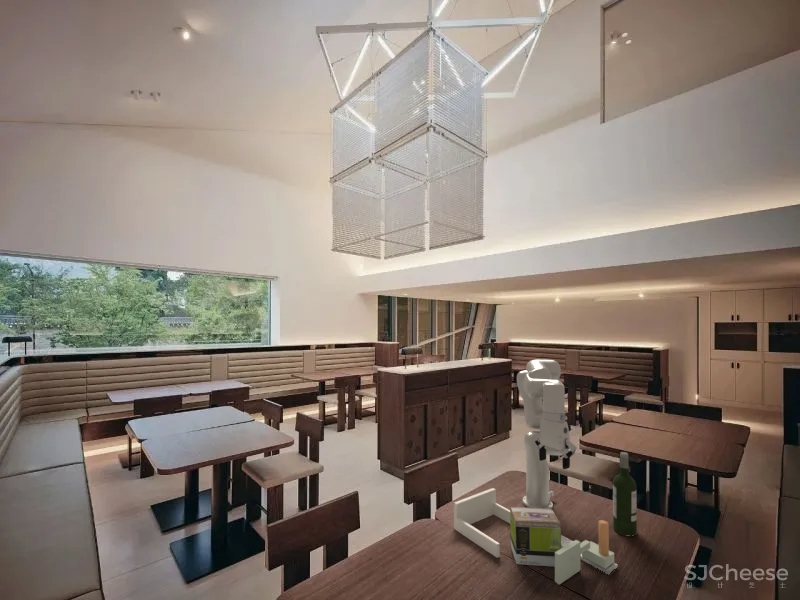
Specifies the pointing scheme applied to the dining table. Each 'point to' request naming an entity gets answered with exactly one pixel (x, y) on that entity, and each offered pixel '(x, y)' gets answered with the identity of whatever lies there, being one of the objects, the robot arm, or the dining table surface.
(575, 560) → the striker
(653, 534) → the dining table surface
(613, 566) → the rail
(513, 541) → the tea box
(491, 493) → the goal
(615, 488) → the wine bottle
